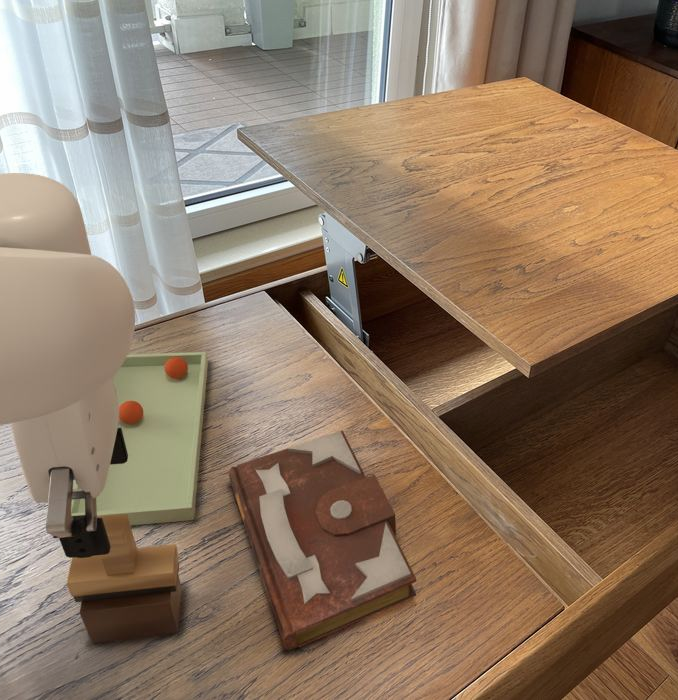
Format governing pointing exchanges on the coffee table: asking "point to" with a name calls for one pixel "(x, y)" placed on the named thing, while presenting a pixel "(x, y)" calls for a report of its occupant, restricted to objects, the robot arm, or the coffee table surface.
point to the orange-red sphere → (176, 367)
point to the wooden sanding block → (123, 567)
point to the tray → (156, 442)
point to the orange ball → (130, 412)
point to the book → (321, 538)
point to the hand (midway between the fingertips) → (99, 504)
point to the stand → (132, 616)
